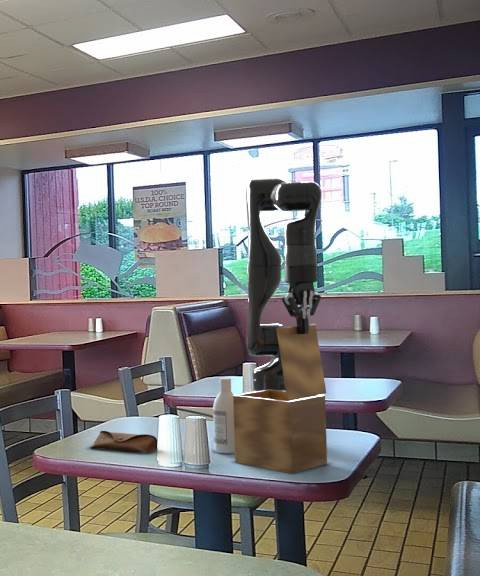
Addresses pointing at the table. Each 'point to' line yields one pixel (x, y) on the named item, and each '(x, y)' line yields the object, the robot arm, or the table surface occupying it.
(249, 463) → the chest
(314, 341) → the chest lid
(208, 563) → the table surface
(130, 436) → the sunglasses case
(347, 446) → the table surface
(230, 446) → the bath foam
